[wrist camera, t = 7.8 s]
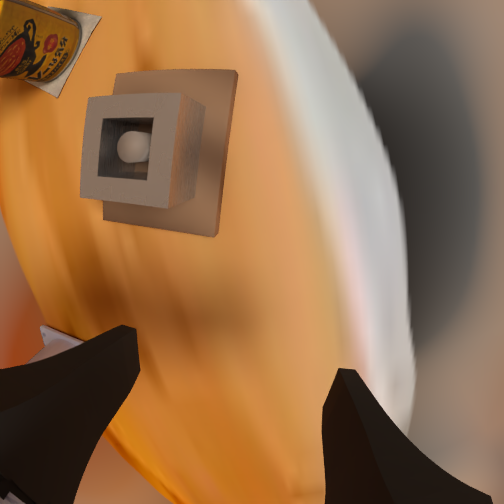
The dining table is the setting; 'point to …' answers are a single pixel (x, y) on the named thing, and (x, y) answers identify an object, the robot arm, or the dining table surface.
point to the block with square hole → (161, 149)
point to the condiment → (41, 42)
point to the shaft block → (211, 152)
